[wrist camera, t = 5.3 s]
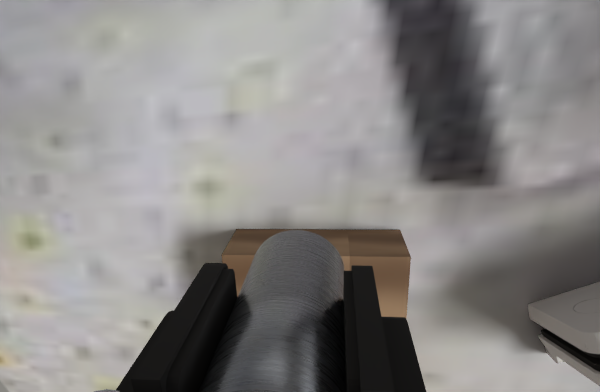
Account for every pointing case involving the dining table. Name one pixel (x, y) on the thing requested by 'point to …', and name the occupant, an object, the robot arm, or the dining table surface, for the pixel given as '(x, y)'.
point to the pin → (285, 321)
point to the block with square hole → (353, 250)
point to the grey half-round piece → (572, 328)
